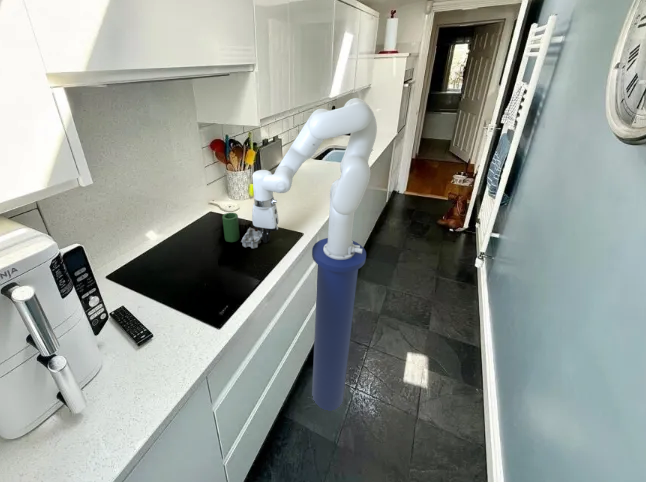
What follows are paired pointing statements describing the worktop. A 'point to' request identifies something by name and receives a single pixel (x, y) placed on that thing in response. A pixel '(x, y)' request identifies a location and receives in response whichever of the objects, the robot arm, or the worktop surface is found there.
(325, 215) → the worktop surface
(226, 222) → the green hollow cylinder
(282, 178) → the robot arm
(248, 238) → the egg carton
